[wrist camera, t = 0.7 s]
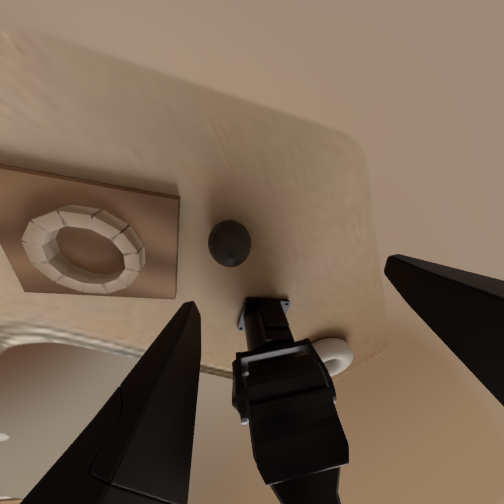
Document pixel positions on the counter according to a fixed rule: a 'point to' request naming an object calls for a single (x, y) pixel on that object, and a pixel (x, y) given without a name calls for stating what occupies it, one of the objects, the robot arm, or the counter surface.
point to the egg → (229, 243)
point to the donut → (334, 354)
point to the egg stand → (88, 236)
